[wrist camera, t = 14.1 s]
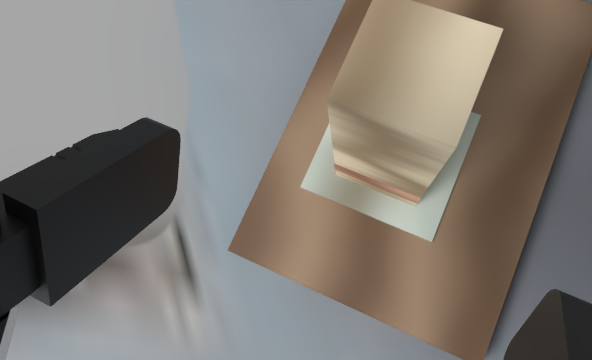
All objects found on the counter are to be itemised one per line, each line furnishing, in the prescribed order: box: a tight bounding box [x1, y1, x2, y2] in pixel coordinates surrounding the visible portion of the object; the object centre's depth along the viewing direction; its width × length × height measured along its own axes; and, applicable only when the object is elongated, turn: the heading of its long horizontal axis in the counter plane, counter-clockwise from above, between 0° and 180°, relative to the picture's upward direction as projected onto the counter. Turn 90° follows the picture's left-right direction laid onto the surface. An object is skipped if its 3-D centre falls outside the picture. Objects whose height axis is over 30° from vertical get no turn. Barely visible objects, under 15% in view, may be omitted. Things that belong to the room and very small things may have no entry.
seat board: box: [228, 0, 592, 360], centre depth 26 cm, size 14×21×2 cm, turn 156°
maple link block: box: [327, 0, 503, 206], centre depth 20 cm, size 5×5×10 cm
